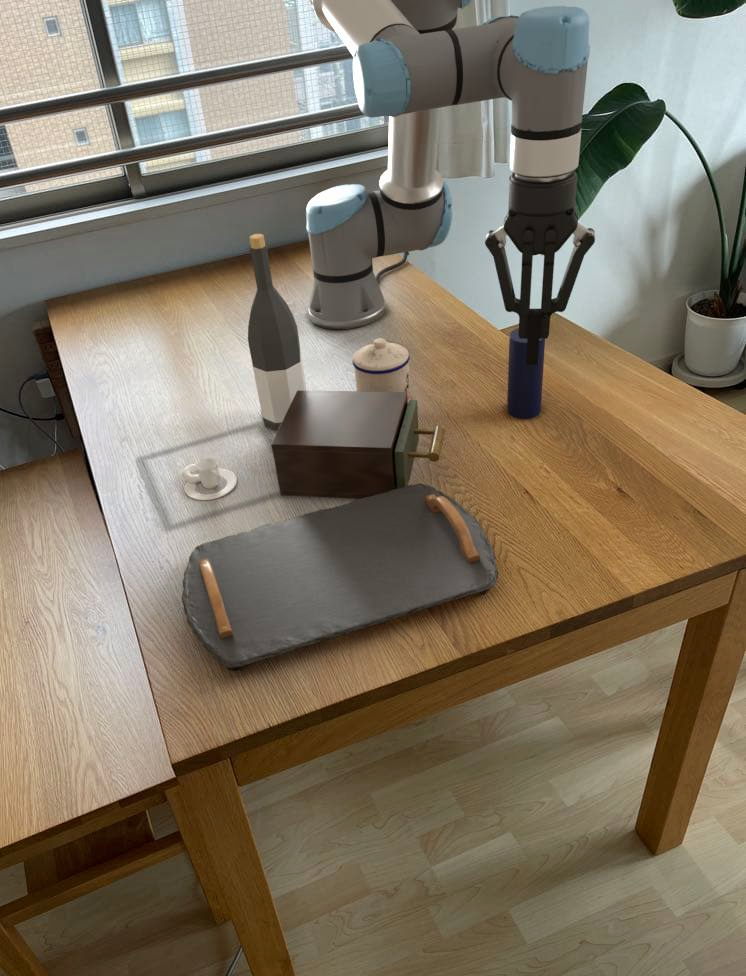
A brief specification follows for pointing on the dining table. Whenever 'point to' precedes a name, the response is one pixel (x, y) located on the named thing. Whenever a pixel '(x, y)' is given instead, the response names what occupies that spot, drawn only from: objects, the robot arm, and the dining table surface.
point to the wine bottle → (273, 342)
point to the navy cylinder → (524, 379)
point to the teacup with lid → (382, 368)
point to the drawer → (413, 444)
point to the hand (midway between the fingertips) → (532, 359)
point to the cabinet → (338, 443)
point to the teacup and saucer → (207, 479)
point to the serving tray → (333, 573)
